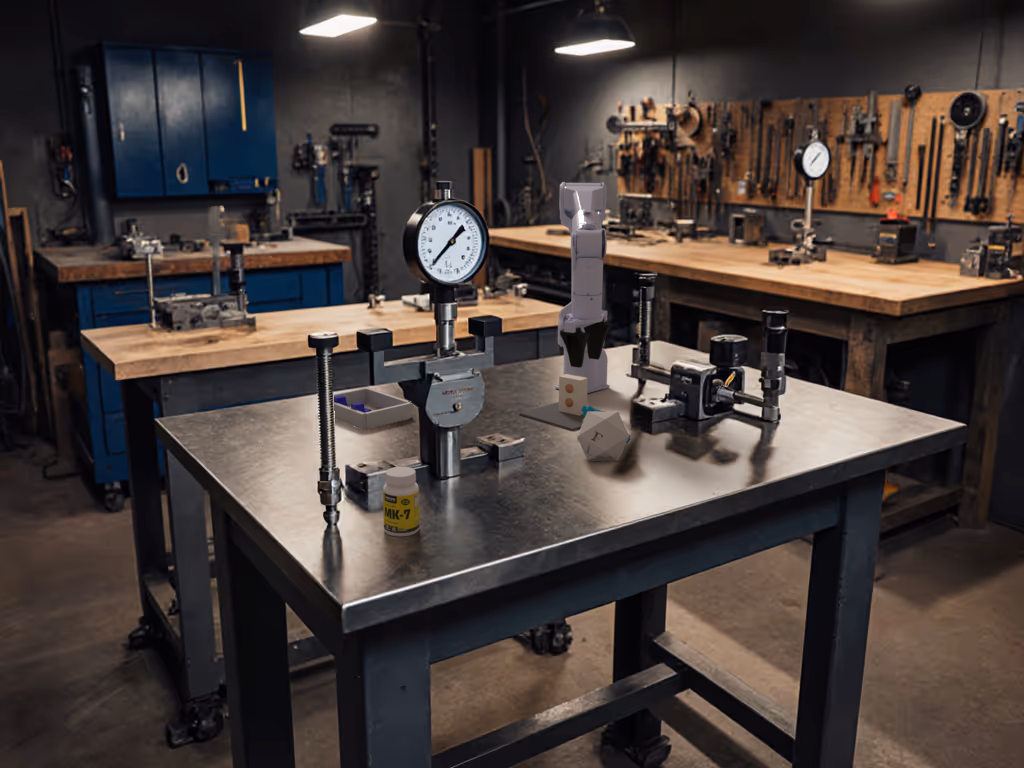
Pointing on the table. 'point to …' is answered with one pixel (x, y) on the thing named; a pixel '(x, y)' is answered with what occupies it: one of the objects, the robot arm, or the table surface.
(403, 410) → the parts tray
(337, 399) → the blue stepped block
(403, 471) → the supplement bottle
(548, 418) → the mat
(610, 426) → the die
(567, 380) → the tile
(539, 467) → the table surface
